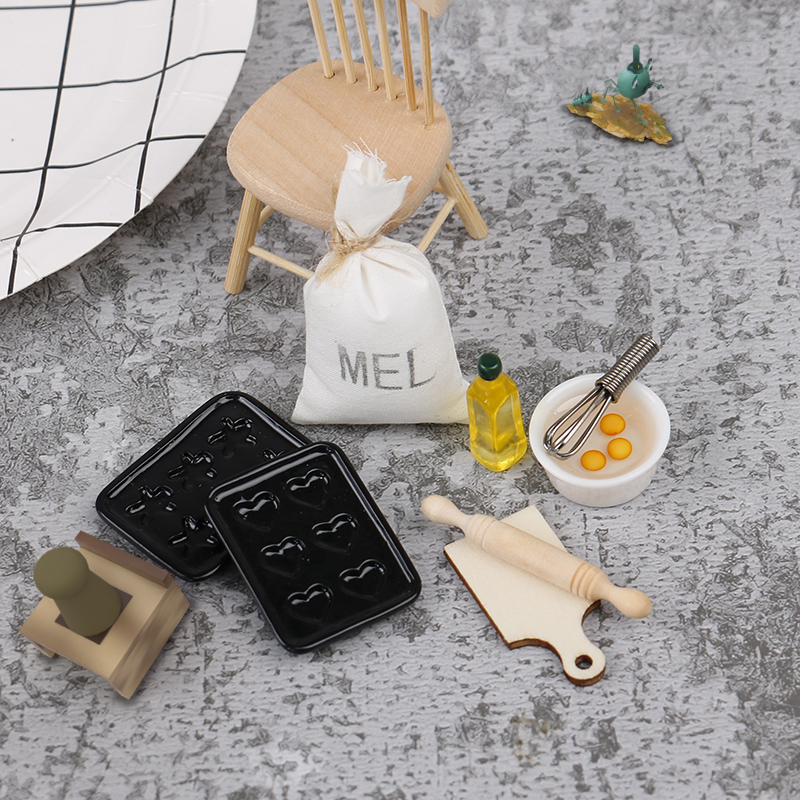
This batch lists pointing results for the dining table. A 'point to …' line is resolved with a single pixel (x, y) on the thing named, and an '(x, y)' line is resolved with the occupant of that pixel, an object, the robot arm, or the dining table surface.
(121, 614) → the wooden square frame
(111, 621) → the cork
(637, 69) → the teal creature figurine
